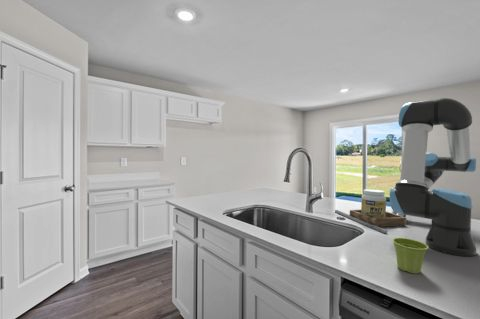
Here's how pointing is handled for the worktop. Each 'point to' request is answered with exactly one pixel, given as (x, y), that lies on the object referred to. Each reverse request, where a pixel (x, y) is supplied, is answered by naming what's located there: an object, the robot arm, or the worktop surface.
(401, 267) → the plant pot
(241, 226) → the worktop surface
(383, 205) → the supplement tub
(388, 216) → the wooden tray
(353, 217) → the rail
